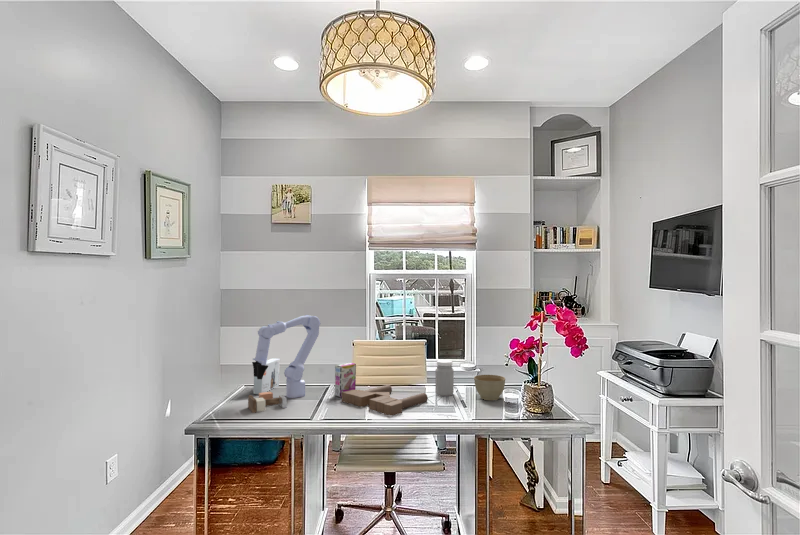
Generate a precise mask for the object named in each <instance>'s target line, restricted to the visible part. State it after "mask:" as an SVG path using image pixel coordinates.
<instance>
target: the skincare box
mask: <svg viewBox="0 0 800 535" xmlns="http://www.w3.org/2000/svg"><path fill="white" fill-rule="evenodd" d="M280 362H281V359H280V358H273V357H272V358H269V359H267V362H266V365H267V366H268V368H267V369H266V371H265V373H264V375H263V378H262V379H257V377H254V376H253V391H252V392H253V395H259V393H263V392H267V391H268V392H270V391H271V389H272V390H273V388H274V389H275V387H276V388H277V387H279V386H280V371H281V368H280V366H281V364H280ZM269 390H270V391H269Z"/></svg>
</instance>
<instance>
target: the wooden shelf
mask: <svg viewBox="0 0 800 535" xmlns="http://www.w3.org/2000/svg"><path fill="white" fill-rule="evenodd" d="M247 399H248V400H247V401H248V402H247V407H248V410H250V412H251V413H252V414H255V413H257V412H256V399H255V397H254V396H253V395H252V394H249V395H248V397H247ZM274 405H279V397H276V398H274V397H273V399H266V404H265V407H266V406H274Z"/></svg>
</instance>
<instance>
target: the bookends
mask: <svg viewBox="0 0 800 535" xmlns="http://www.w3.org/2000/svg"><path fill="white" fill-rule="evenodd" d="M392 392H393V388H392V385H390V384H385V385H382V386H378V387H377V386H376V387H373V388H369V389H365V390H363V389H362V390H361V389H355V390H350V391H345V392H342V397H341V403H345V404H350V405H353V406H357V407H359V408H360V407H361V408H364V407H367V406H368V407H369V408H368V409H369V410H370V411H373V412H377V413H380V414H383V415H387V416H389V417H393V416H396V415H398V414H402V413H403V410H404V409H408V408H412V407H414V406H417V405H422V404H424V403H428V399H429V398H428V395H427V394H426V392H421V393H417V394H414V395H411V396H406V397H403V398H400V399H398V398H394V397H391V395H390V394H391V393H392Z"/></svg>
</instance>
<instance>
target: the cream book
mask: <svg viewBox="0 0 800 535" xmlns="http://www.w3.org/2000/svg"><path fill="white" fill-rule="evenodd" d="M254 398H255V397H254ZM255 399H256V413H257V412H258V413H259V412H264V411H265V412H266V406H265V404H266V400H265V399H264V398H263V397H262V398H259V397H256V398H255Z"/></svg>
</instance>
